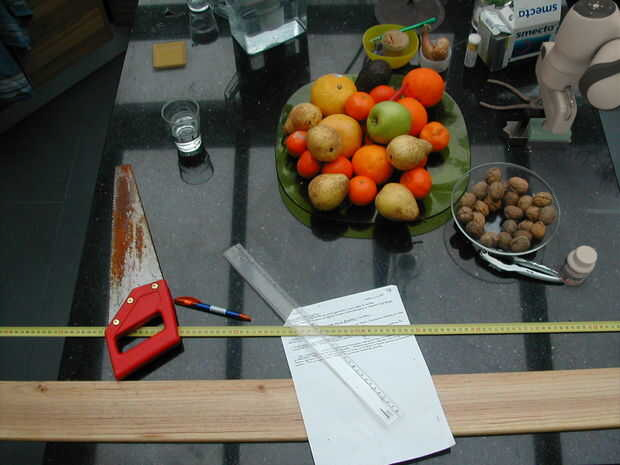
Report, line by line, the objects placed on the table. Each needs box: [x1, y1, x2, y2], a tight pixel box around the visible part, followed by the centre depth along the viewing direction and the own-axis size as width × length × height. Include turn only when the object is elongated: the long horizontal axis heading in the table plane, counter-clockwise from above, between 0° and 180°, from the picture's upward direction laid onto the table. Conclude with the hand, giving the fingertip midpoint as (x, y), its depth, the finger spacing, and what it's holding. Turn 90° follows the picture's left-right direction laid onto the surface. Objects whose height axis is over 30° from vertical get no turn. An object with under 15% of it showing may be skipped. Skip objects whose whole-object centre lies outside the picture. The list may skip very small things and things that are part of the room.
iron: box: [499, 108, 573, 151], centre depth 132 cm, size 15×7×10 cm, turn 88°
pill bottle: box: [557, 245, 598, 286], centre depth 113 cm, size 5×5×9 cm
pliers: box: [479, 79, 544, 111], centre depth 142 cm, size 10×1×20 cm
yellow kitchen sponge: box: [152, 40, 187, 69], centre depth 151 cm, size 9×9×2 cm
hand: (542, 116), depth 129 cm, fingers open, 6 cm apart
